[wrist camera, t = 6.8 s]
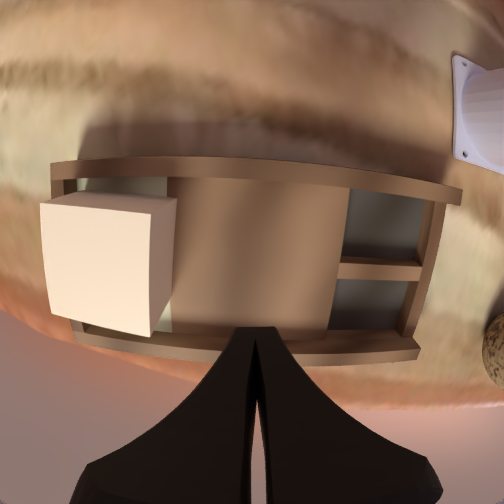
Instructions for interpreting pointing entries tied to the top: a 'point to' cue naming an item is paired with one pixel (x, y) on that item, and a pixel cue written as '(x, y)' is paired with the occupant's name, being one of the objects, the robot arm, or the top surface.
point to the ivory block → (109, 257)
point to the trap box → (280, 255)
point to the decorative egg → (495, 350)
